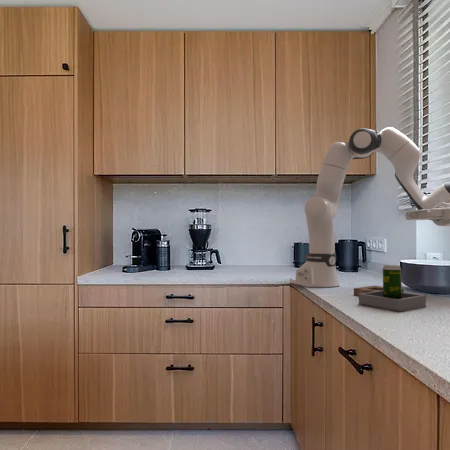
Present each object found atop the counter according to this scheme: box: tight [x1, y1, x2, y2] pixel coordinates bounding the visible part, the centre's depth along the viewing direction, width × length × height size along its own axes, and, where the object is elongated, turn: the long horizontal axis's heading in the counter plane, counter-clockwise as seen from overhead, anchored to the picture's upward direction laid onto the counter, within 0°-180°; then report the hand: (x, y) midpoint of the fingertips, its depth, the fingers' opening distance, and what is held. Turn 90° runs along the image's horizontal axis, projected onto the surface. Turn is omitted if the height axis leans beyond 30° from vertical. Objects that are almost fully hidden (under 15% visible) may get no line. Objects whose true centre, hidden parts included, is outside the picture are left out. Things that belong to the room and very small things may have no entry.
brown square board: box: [353, 285, 405, 297], centre depth 137 cm, size 12×12×2 cm
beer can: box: [382, 264, 403, 299], centre depth 118 cm, size 5×5×12 cm
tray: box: [358, 290, 427, 313], centre depth 118 cm, size 14×14×4 cm
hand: (417, 213), depth 136 cm, fingers open, 8 cm apart
